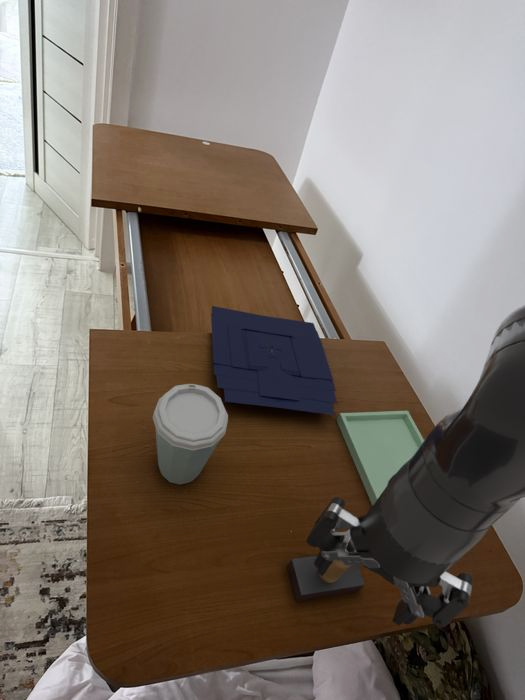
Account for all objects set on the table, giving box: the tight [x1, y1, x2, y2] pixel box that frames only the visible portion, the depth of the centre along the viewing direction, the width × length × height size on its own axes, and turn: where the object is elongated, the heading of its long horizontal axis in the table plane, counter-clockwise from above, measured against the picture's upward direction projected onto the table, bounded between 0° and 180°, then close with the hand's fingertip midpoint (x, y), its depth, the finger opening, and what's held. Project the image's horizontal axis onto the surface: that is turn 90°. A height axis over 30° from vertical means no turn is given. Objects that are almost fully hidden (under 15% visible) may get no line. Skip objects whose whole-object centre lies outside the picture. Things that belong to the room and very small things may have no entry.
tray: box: [335, 410, 425, 507], centre depth 91 cm, size 26×16×2 cm, turn 15°
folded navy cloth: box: [210, 305, 338, 416], centre depth 102 cm, size 24×30×4 cm
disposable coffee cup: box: [152, 383, 229, 486], centre depth 75 cm, size 11×11×15 cm
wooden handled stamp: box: [286, 544, 366, 603], centre depth 69 cm, size 5×10×13 cm, turn 104°
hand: (359, 590), depth 51 cm, fingers open, 8 cm apart
